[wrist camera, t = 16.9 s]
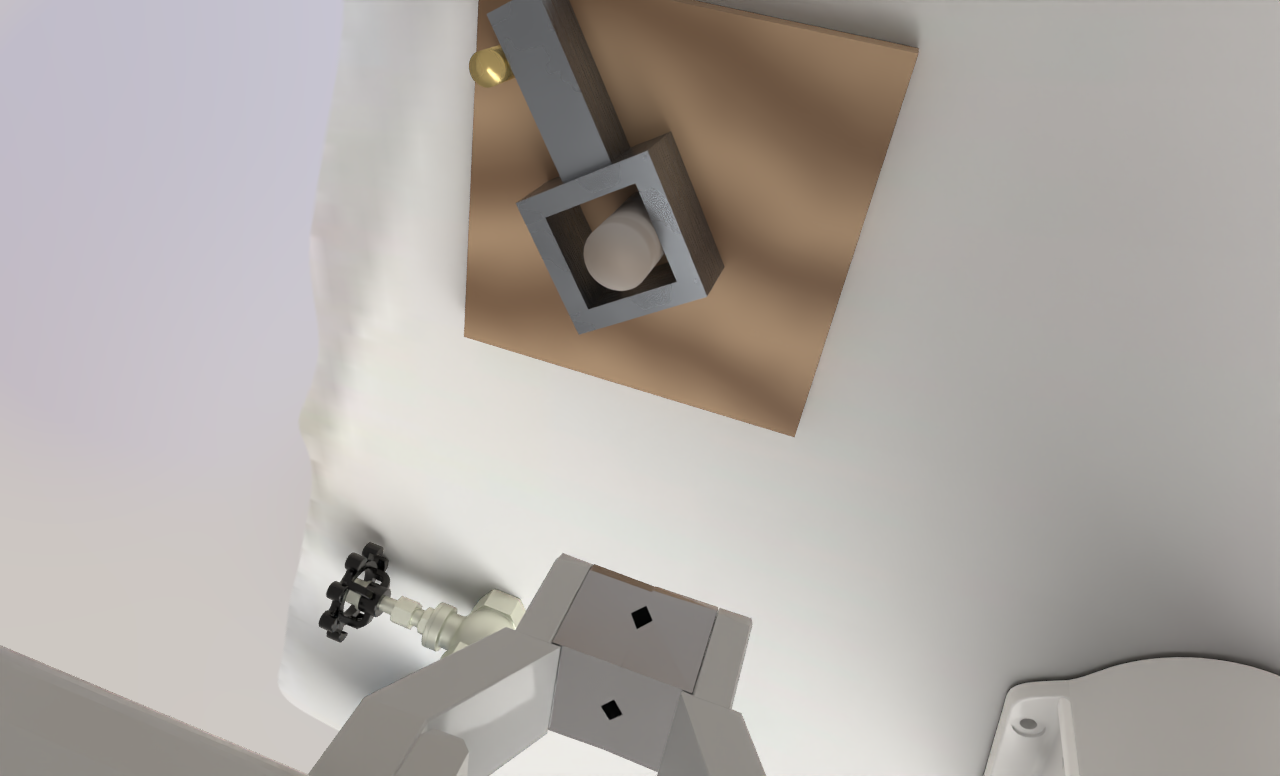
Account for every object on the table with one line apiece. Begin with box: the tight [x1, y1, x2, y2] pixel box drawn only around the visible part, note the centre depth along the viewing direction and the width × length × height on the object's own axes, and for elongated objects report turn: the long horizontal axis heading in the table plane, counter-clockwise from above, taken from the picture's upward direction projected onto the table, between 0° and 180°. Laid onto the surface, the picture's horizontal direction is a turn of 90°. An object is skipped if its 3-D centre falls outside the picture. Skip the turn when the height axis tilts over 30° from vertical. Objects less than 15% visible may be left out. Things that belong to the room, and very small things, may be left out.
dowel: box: [469, 45, 515, 88], centre depth 34 cm, size 1×1×4 cm
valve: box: [319, 542, 526, 659], centre depth 53 cm, size 7×7×12 cm
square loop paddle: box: [487, 0, 725, 335], centre depth 34 cm, size 13×6×4 cm, turn 24°
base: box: [464, 0, 919, 437], centre depth 35 cm, size 18×18×6 cm
